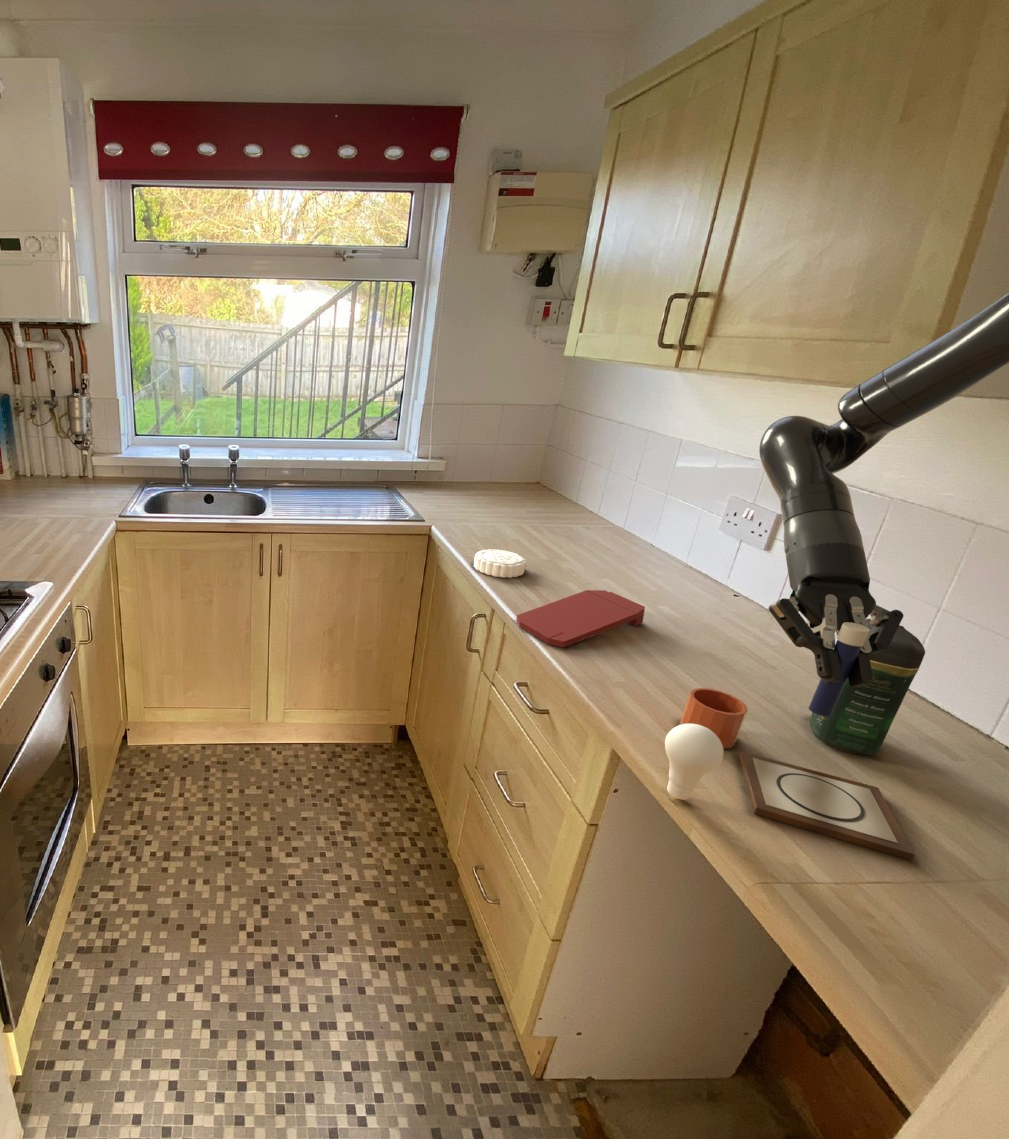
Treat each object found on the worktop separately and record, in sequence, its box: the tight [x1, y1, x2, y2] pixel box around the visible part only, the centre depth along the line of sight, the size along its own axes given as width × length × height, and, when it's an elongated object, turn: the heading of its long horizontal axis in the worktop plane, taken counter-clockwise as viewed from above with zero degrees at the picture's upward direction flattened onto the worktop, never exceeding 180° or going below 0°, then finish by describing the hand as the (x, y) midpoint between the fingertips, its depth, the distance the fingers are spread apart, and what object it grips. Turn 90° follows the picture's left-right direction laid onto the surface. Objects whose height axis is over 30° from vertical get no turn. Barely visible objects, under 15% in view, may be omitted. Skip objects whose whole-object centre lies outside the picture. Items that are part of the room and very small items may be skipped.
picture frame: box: [738, 751, 916, 861], centre depth 81 cm, size 15×13×1 cm
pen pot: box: [679, 687, 749, 750], centre depth 94 cm, size 7×7×6 cm
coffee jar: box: [809, 618, 926, 756], centre depth 91 cm, size 10×8×19 cm
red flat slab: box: [516, 589, 646, 648], centre depth 128 cm, size 12×5×25 cm
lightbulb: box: [664, 724, 725, 801], centre depth 80 cm, size 6×6×11 cm
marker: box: [808, 622, 870, 717], centre depth 76 cm, size 2×2×12 cm
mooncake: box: [473, 548, 527, 579], centre depth 157 cm, size 12×12×4 cm
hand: (846, 683), depth 74 cm, fingers closed on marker, 2 cm apart
